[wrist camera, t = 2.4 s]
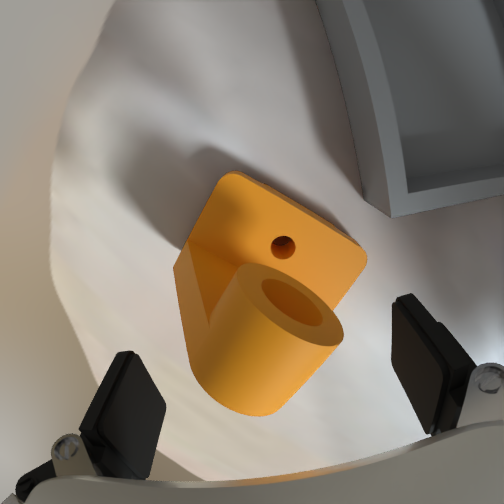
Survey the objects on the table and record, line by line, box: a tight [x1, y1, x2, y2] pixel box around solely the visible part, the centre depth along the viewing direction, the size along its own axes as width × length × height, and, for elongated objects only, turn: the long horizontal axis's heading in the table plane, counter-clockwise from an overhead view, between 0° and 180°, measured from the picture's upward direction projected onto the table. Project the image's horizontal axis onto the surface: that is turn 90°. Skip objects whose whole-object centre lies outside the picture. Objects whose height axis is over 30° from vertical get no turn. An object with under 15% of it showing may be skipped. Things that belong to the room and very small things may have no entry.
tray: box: [315, 0, 504, 218], centre depth 14 cm, size 18×20×5 cm
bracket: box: [173, 171, 367, 416], centre depth 17 cm, size 11×7×12 cm, turn 60°
